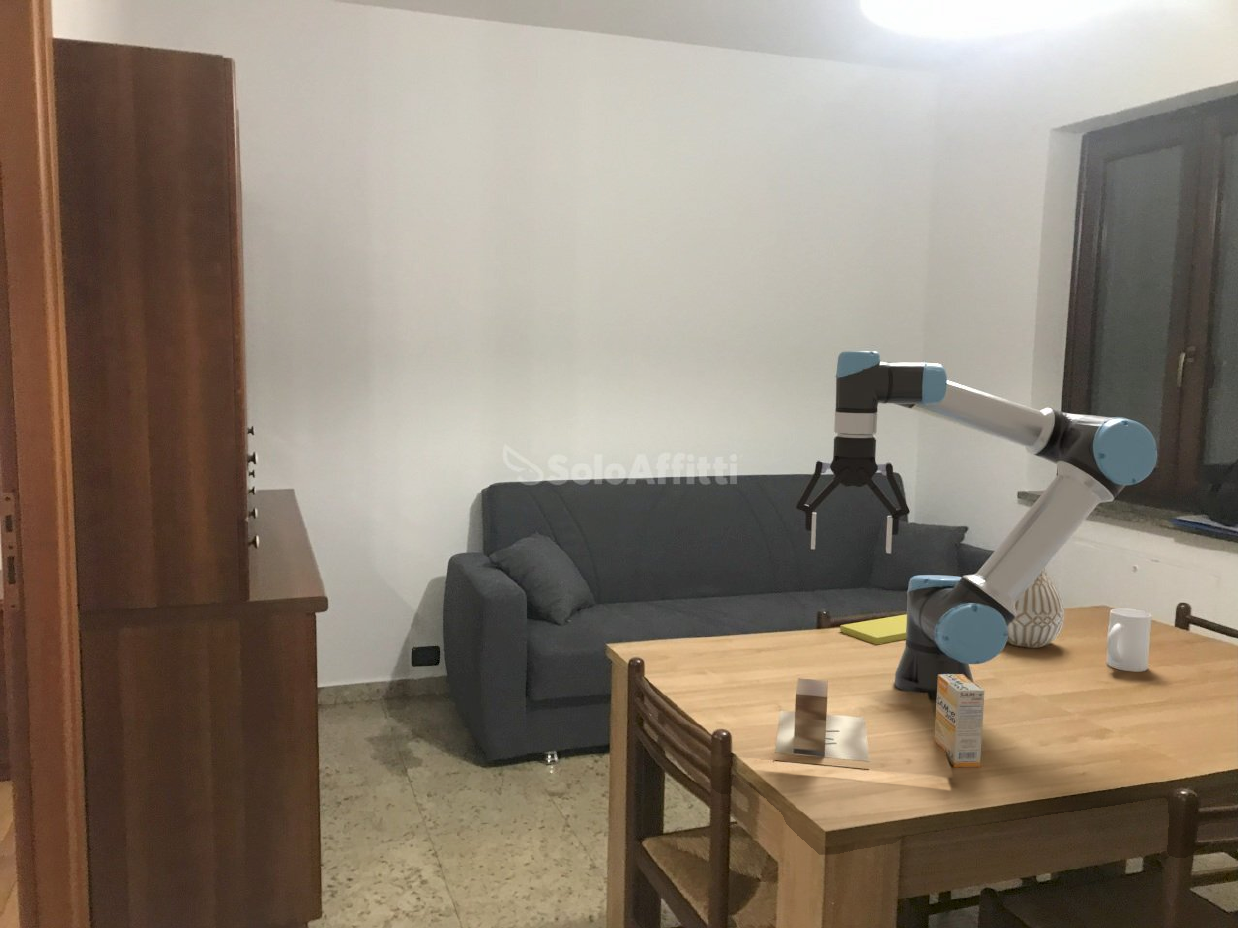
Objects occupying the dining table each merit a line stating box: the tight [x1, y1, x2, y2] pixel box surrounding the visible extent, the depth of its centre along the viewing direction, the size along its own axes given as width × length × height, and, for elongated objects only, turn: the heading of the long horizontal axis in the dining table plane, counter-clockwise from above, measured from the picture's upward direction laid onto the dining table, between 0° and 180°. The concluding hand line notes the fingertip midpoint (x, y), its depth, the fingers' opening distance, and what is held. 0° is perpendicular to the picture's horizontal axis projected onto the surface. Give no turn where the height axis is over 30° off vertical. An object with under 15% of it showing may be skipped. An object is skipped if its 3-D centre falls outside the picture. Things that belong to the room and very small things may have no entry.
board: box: [774, 710, 870, 771], centre depth 168 cm, size 15×20×2 cm
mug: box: [1106, 607, 1152, 673], centre depth 213 cm, size 8×12×12 cm
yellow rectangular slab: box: [839, 613, 907, 645], centre depth 239 cm, size 12×2×24 cm
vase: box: [1006, 567, 1065, 649], centre depth 231 cm, size 16×16×20 cm
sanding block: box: [794, 678, 829, 757], centre depth 162 cm, size 5×8×10 cm, turn 167°
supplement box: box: [934, 674, 985, 768], centre depth 162 cm, size 8×5×13 cm, turn 5°
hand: (850, 550), depth 181 cm, fingers open, 13 cm apart
